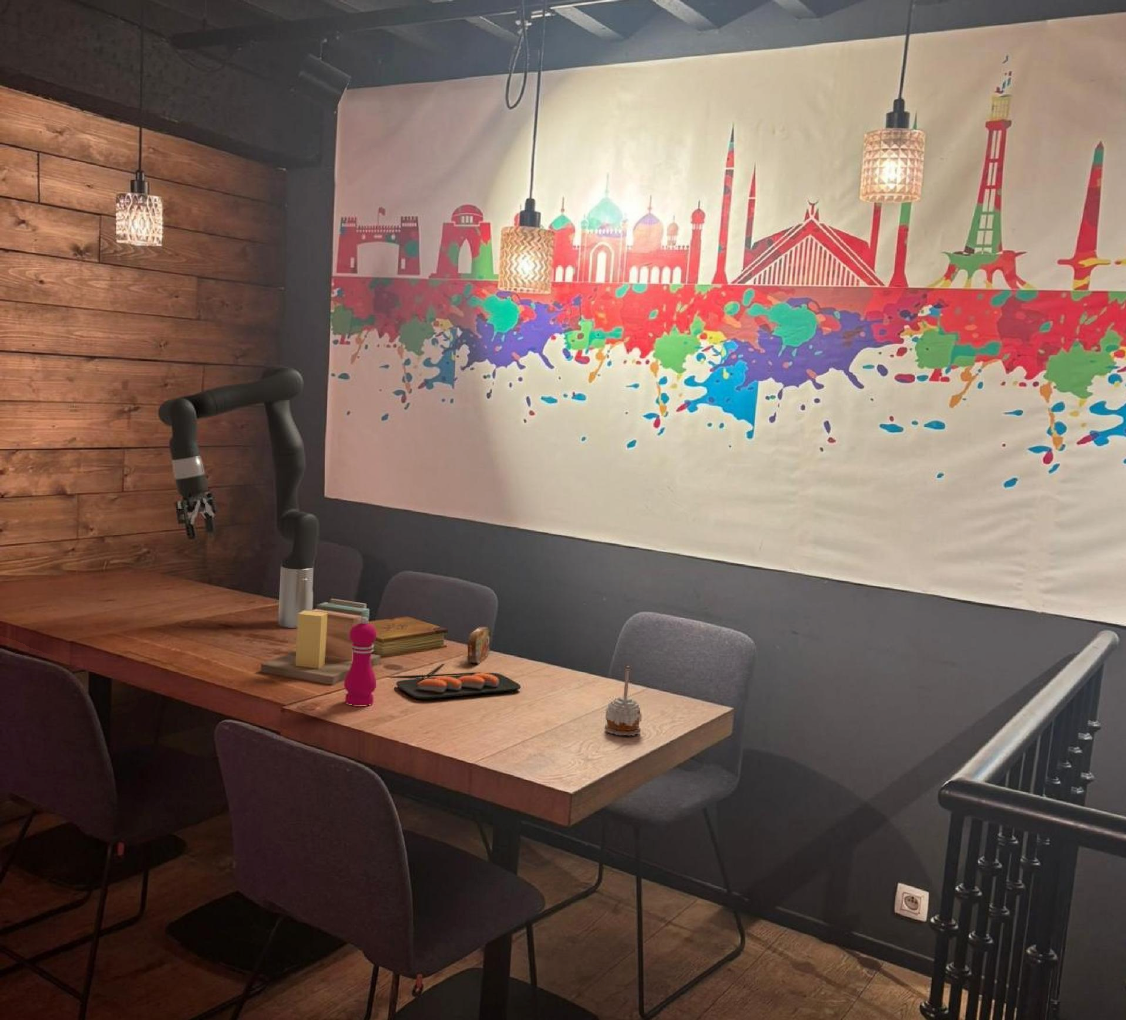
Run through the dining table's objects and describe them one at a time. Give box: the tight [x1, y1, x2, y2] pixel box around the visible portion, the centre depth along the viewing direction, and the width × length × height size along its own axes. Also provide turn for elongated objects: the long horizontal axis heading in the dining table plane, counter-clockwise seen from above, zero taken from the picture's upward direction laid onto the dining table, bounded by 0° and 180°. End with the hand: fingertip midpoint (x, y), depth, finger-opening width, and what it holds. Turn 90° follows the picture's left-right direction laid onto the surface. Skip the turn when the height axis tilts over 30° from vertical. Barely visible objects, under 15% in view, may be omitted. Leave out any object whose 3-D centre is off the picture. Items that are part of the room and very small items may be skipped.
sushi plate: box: [387, 663, 522, 699], centre depth 270 cm, size 29×30×4 cm
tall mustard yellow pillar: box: [295, 611, 327, 668], centre depth 267 cm, size 4×6×13 cm, turn 81°
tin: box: [467, 626, 492, 665], centre depth 292 cm, size 15×3×8 cm, turn 168°
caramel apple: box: [604, 665, 642, 736], centre depth 240 cm, size 8×8×15 cm
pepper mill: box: [343, 617, 377, 706], centre depth 246 cm, size 7×7×20 cm
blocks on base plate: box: [260, 598, 382, 686], centre depth 273 cm, size 24×20×15 cm
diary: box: [369, 616, 449, 659], centre depth 301 cm, size 23×19×6 cm
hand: (202, 535), depth 285 cm, fingers open, 8 cm apart
